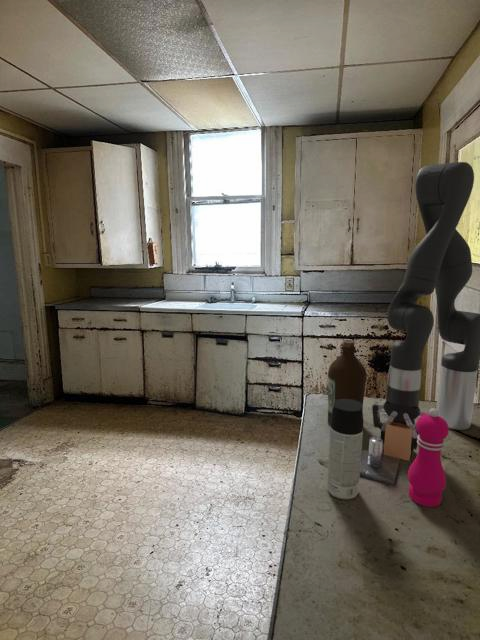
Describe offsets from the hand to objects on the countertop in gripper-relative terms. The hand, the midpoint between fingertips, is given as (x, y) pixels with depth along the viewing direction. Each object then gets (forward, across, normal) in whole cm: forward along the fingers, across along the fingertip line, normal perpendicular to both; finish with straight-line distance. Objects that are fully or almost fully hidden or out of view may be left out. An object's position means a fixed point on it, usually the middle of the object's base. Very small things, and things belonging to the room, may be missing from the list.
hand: (398, 446), depth 101 cm
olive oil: (+2, +16, -9) cm, 18 cm away
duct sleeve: (+2, 0, 0) cm, 2 cm away
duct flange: (+2, +4, +10) cm, 11 cm away
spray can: (+2, +8, +22) cm, 24 cm away
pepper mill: (+2, -7, +16) cm, 18 cm away
